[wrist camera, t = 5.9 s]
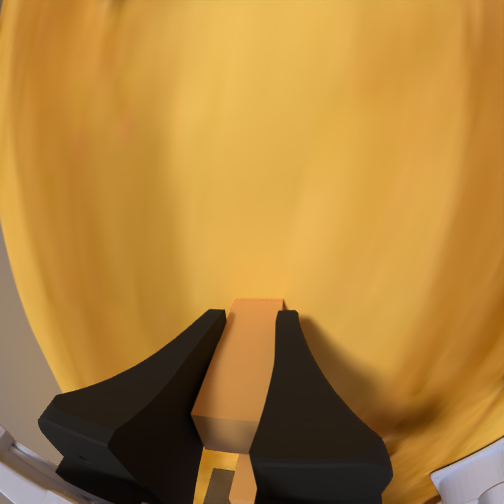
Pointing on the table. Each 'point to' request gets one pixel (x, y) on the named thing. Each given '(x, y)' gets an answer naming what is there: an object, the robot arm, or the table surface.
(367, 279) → the table surface
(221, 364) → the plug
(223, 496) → the housing
